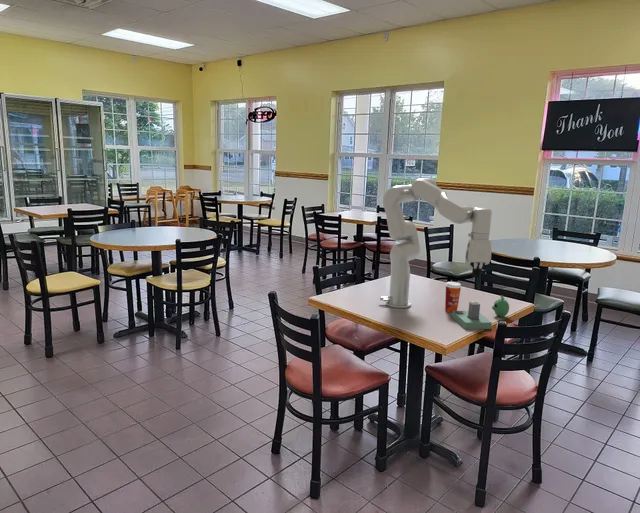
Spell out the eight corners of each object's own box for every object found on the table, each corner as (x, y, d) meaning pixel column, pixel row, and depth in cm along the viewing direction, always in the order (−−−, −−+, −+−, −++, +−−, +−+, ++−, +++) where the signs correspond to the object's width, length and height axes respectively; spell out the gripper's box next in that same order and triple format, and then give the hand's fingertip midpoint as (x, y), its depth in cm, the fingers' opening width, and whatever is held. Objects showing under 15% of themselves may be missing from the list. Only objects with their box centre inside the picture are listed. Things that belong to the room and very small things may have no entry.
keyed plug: (470, 325, 213) (472, 304, 211) (466, 322, 218) (468, 301, 216) (478, 325, 214) (480, 304, 212) (473, 322, 218) (475, 301, 216)
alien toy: (490, 313, 232) (492, 293, 230) (507, 315, 230) (509, 295, 228) (491, 317, 226) (493, 297, 224) (508, 319, 224) (511, 299, 222)
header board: (464, 329, 209) (465, 321, 208) (451, 316, 225) (452, 310, 224) (491, 328, 210) (491, 321, 210) (476, 316, 226) (477, 310, 225)
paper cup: (450, 314, 229) (453, 286, 226) (439, 309, 235) (442, 282, 232) (462, 312, 232) (465, 284, 229) (451, 307, 239) (454, 280, 236)
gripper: (466, 237, 203) (462, 278, 207) (500, 238, 205) (495, 279, 209) (460, 234, 211) (456, 274, 215) (492, 235, 212) (488, 275, 216)
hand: (475, 276), depth 212 cm, fingers closed
